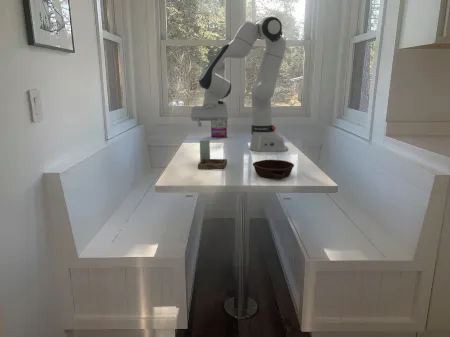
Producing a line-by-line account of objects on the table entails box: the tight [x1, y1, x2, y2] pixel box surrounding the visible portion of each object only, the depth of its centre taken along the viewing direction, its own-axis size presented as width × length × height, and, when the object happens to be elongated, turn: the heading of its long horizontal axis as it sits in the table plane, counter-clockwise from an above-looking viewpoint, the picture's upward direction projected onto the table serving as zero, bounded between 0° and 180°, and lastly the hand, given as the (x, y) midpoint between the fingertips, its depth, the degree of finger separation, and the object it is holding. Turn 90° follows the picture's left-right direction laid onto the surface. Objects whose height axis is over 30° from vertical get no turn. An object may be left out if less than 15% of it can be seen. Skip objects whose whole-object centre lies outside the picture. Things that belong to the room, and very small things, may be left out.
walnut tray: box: [197, 158, 228, 170], centre depth 168 cm, size 12×12×2 cm
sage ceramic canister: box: [199, 139, 211, 161], centre depth 181 cm, size 5×5×10 cm
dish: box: [252, 159, 295, 180], centre depth 152 cm, size 18×22×5 cm
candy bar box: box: [210, 120, 228, 138], centre depth 254 cm, size 11×5×16 cm, turn 80°
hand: (208, 125), depth 190 cm, fingers open, 8 cm apart
